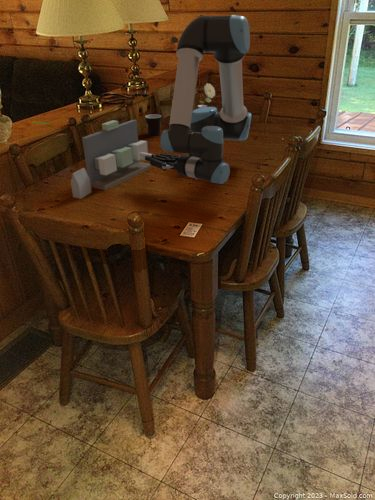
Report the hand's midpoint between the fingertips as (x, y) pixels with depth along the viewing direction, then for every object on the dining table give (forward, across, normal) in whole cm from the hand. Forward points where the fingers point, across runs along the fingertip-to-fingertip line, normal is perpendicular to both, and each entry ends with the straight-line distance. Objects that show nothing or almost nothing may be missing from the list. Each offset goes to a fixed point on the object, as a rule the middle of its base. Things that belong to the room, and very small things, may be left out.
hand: (141, 155), depth 172 cm
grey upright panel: (+16, +1, -11) cm, 19 cm away
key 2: (+12, +11, -6) cm, 17 cm away
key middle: (+12, +1, -6) cm, 14 cm away
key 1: (+12, -9, -6) cm, 17 cm away
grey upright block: (+13, -22, -12) cm, 28 cm away
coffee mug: (+38, +56, -10) cm, 69 cm away
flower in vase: (+18, +74, -10) cm, 77 cm away
